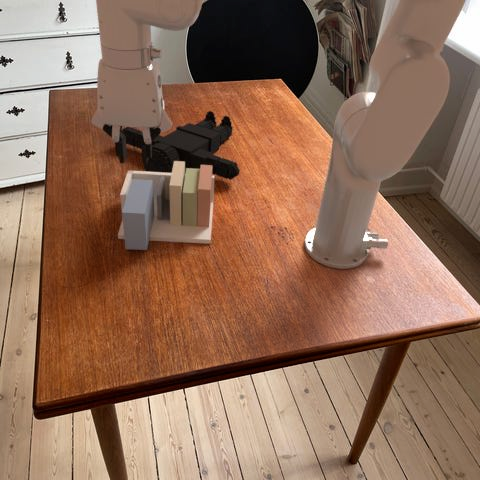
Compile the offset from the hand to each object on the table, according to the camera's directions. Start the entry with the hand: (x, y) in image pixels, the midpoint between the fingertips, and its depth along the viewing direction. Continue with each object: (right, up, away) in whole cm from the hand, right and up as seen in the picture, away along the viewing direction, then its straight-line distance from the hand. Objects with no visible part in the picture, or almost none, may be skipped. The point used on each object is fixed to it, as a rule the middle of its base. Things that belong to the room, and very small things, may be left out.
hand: (134, 158), depth 87 cm
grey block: (-1, -13, +10) cm, 16 cm away
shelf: (+4, -10, +15) cm, 19 cm away
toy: (+6, +6, +36) cm, 37 cm away
